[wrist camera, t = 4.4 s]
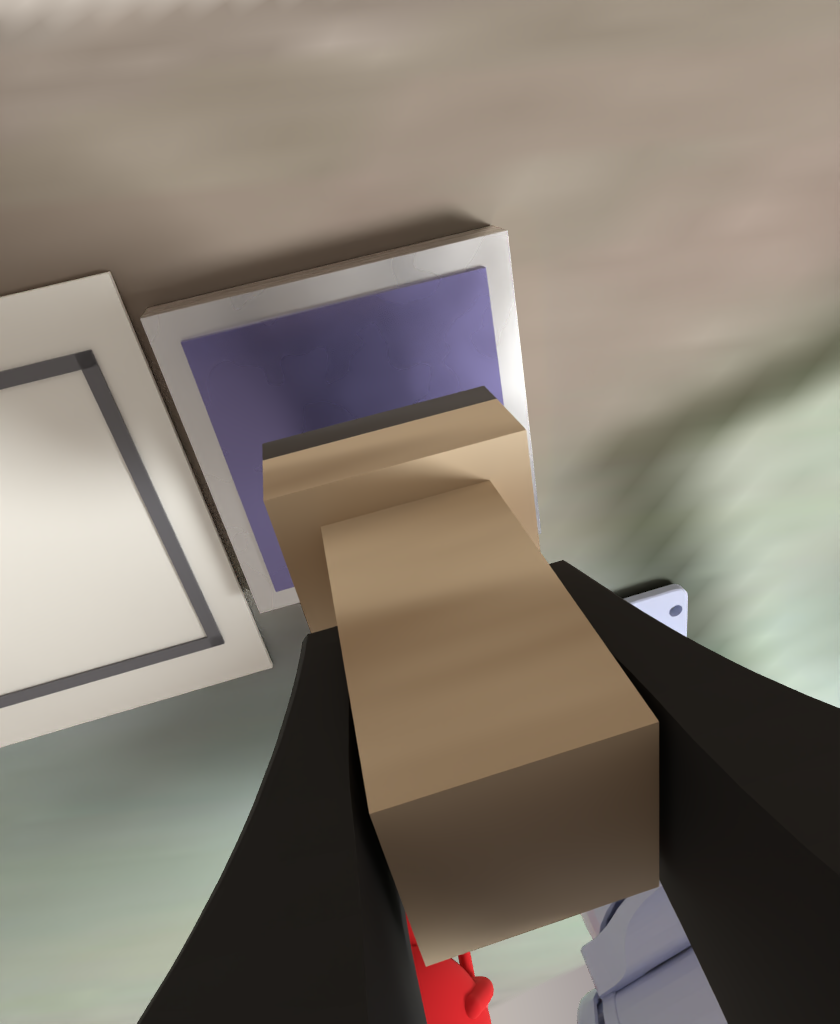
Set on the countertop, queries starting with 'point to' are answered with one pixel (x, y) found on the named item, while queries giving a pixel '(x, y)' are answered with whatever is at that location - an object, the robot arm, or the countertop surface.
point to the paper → (101, 526)
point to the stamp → (467, 672)
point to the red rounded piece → (451, 989)
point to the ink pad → (332, 364)
